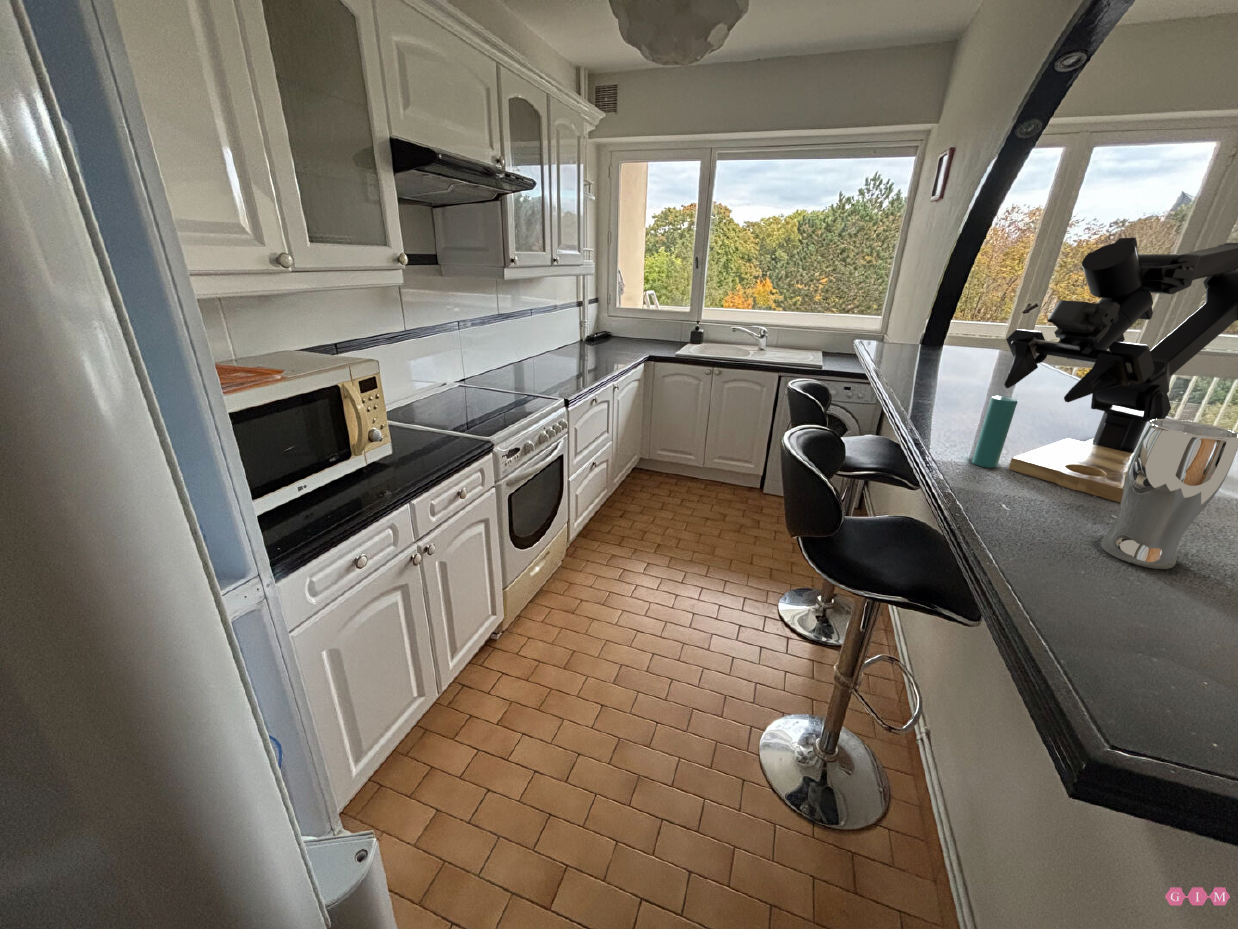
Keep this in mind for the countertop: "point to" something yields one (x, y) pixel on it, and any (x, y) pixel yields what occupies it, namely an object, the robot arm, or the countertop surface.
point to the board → (1077, 467)
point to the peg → (994, 431)
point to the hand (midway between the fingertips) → (1034, 393)
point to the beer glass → (1168, 489)
